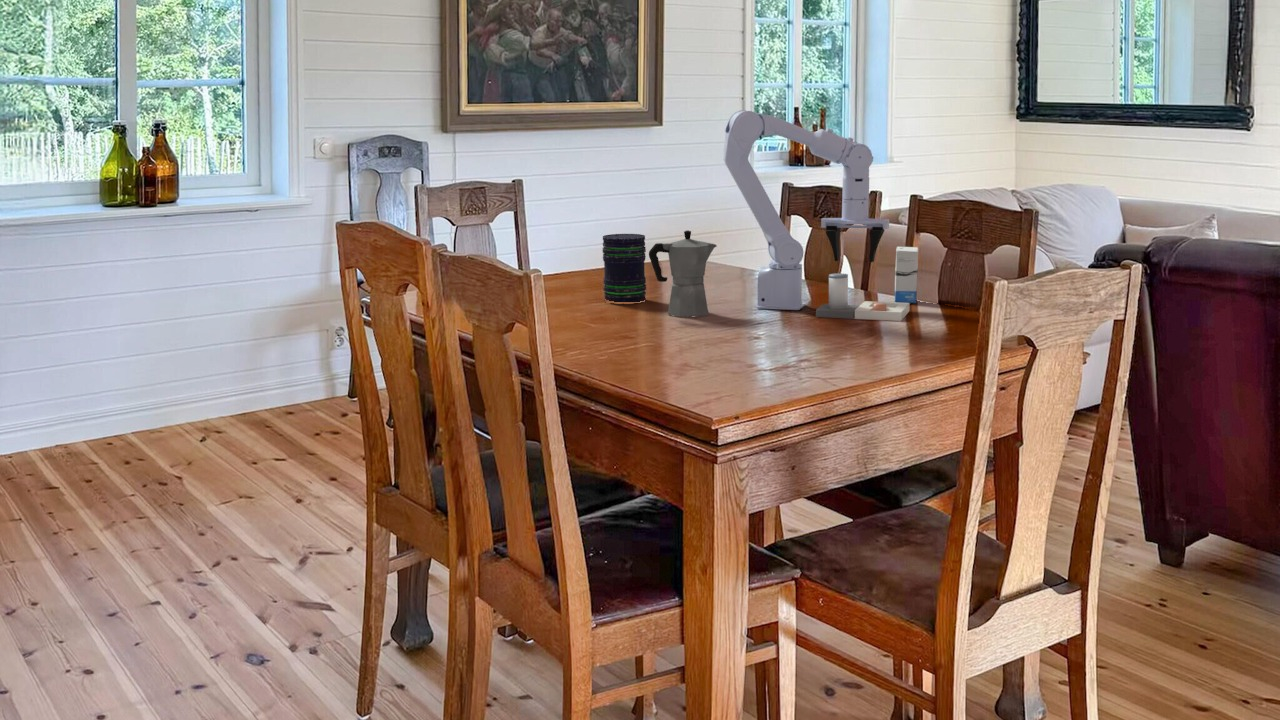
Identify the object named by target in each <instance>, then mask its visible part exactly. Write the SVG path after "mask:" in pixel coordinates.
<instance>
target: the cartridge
mask: <svg viewBox="0 0 1280 720" xmlns="http://www.w3.org/2000/svg"><path fill="white" fill-rule="evenodd" d="M848 295H849V274H848V273H839V272H838V273H836V272H835V273H829V274H828V304H829V308H831V309H845V308H848V305H849V296H848Z"/></svg>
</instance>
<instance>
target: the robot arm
mask: <svg viewBox="0 0 1280 720" xmlns="http://www.w3.org/2000/svg"><path fill="white" fill-rule="evenodd" d="M773 135H775V136H778V137H781V138H783V139H787V140H790V141H792V142H796V143H799V144H801V145H805V146H806V147H808V149H809V151H810V153H811V155H813V156H816V157H819V158H822V159H823V160H827V161H829V162H831V163H834V164H837V165H840V164H841V165H842V166H843V170H842V172H843V176H842V199H841V200H842V202H841V217H823V218H821V222H820V223H821V225H820V227H821V228H822V229H823V228H824V229H825V230H824V231H825V235H826V237H827V239H828V241H829V243H830V246H831V249H832V253H833V259H834V260H833V261H834V262H838V261H840V256H841V255H840V238H841V236H840V235H841V229H843V228H845V229H846V228H847V229H870V230H869V247H870V248H869V258H868V259H869V261H868V262H869V263H874V262H875V258H876V253H877V250H878V246H879V244H880V241H881V238H882V237H883V235H884V233H885V230H888V229H889V228H890V219H888V218H887V219H886V218H885V219H884V218H871V217H870V218H869V208H870V207H869V205H870V204H869V203H870V200H869V199H870V167H871V166H872V164H873V162H874V156H873V154H872V150H871V149H870V148H869V146H868V145H866V144H863V143H859V142H857V141H854V138H853V137H851V136H850V137H849V136H848V137H847V138H846V137H844V136H842V135H840V134H836V133H834V129H831V128H826V129H823V128H820V129H818V130H817V131H814V132H813V131H810V130H808V129H805V128H804V127H801V126H799V125H796V124H794V123H792V122H789V121H787V120H784V119H782V118H779V117H776V116H774V115H768V114H763V113H757V112H755V111H752V110H744V109H741V110H737V111H735V112H733V113H732V114H731V116H730V117H729V119H728V122H727V124H726V126H725V128H724V148H723V161H724V164H725V167H727V169H728V171H729V173H730V175H731V177H732V179H733V180H734V182H735V184H736V186H737V188H738V189H739V191H740V193H741V195H742V196H743V198H744V200H745V202H746V203H747V205H748V207H749V209H750V211H751V212H752V214H753V217H754V218H755V220H756V221H757V223H758V226H759V227H760V229H761V231H762V233H763V236H764V238H765V240H766V242H767V247H768V248H767V251H768V254H769V257H770V258H771V259H772V260H771V261H770V262H769V264H768V266H761V267H760V268H759V270H758V273H757V306H756V309H763V310H765V309H767V310H784V311H786V310H787V311H800V309H802V308H803V307H805V306H806V305H807V302H804V301H803V300H802V299H803V298H802V294H803V293H802V291H803V289H802V288H803V287H802V285H803V283H802V282H803V264H801V262H802V260H803V258H804V249H803V246H802V244H801V243H800V242H799V241H798V240H796V239H794V238H793V237H792V235H791V233H790V231H789V229H788V228H787V227H786V226H785V224H784V222H783V221H782V219H781V217H780V216H779V214H778V212H777V210H776V209H775V207H774V205H773V203H772V201H771V199H770V197H769V196H768V194H767V192H766V190H765V188H764V186H763V184H762V183H761V181H760V179H759V177H758V175H757V174H756V172H755V170H754V168H753V166H752V164H751V162H750V160H749V157H750V154H751V151H752V148H753V146H754V144H755V142H756V141H757V140H758V139H759V137H760V136H762V137H768V136H773Z"/></svg>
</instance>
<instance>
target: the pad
mask: <svg viewBox="0 0 1280 720" xmlns="http://www.w3.org/2000/svg"><path fill="white" fill-rule="evenodd" d="M860 305H861V304H860ZM860 305H859V304H848V308H845V309H831V308H829V303H823V304H822V305H820V306H819V307H817V309H815V318H830V319H850V320H855V310H856V309H857V308H858V307H859V306H860Z"/></svg>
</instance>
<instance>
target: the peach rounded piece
mask: <svg viewBox="0 0 1280 720" xmlns="http://www.w3.org/2000/svg"><path fill="white" fill-rule="evenodd" d="M873 311H887V304H886V303H873Z"/></svg>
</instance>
